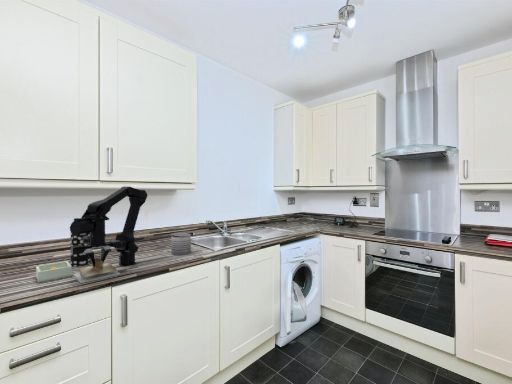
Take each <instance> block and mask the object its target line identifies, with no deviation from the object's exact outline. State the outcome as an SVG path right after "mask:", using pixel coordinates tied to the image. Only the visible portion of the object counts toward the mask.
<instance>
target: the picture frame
mask: <svg viewBox="0 0 512 384" xmlns="http://www.w3.org/2000/svg"><path fill="white" fill-rule="evenodd" d="M119 275H120V276H121V273H120V271H118V270H117V271H112V272H108V273H103V274H98V275H93V276H89V277H84V276H83V275H82V274H81V273H80V272H78V273H74V274H73V276H74V278H75V279H76V278H77V279H76V280H77V282H79V284H84V283H88V282H89V283H90V282H93V281H97V280H102V279H106V278H111V277H116V276H119Z"/></svg>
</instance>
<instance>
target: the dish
mask: <svg viewBox="0 0 512 384" xmlns="http://www.w3.org/2000/svg"><path fill="white" fill-rule="evenodd" d="M52 267H57V268H56V269H51V268H52ZM50 269H51V270H50ZM72 271H73V266H71V263H70V262H69V261H68V260H66V261H60V262H53V263H47V264H40V265H35V277H36V281H37V283H38V284H42V283H46V282H52V281H56V280H61V278H62V279H65V278H66V277H67V278H71V276H73V275H72V273H73V272H72Z"/></svg>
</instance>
